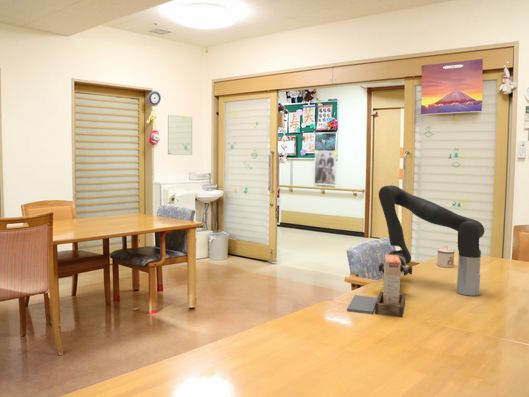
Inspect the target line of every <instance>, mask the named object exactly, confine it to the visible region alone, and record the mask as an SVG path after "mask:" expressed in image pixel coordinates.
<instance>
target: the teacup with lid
mask: <svg viewBox="0 0 529 397" xmlns="http://www.w3.org/2000/svg"><path fill="white" fill-rule="evenodd" d="M436 260H437V261H436V263H437V264H436V266H438V267H439V268H445V269H447V268H449V269H450V268H451V269H452V268H453V267H454V260H455V250H454V249H451V248H450V247H449V246H448V245H444V247H441V248H438V249H437V259H436Z"/></svg>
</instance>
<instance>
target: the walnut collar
mask: <svg viewBox="0 0 529 397" xmlns="http://www.w3.org/2000/svg"><path fill="white" fill-rule="evenodd" d="M377 297H378V298H377V301H376V303H375V309H374V314H375V315H381V316H390V317H398V318H399V317H400V318H403V315H404V311H405V306H406V293H399V305H390V304H383V291H379V294H378V296H377Z"/></svg>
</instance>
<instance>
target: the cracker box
mask: <svg viewBox="0 0 529 397" xmlns="http://www.w3.org/2000/svg"><path fill="white" fill-rule="evenodd" d="M383 264H384V274H383V288H382V289H383V290H382V292H383V302H382V304H390V305H399V306H400V304H399V293H400V290H401V287H400V286H401V275H402V274H401V261H400V259H399V256H398V255H389V254H384V263H383ZM400 294H401V293H400Z"/></svg>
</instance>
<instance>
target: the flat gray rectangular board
mask: <svg viewBox="0 0 529 397" xmlns="http://www.w3.org/2000/svg"><path fill="white" fill-rule="evenodd" d="M377 298H378V296H377V297H376V296H368V295H360V294H354V296H353V298H352V299H351V301H350V302H349V305H348V306H347V308H346V312H352V313H353V312H354V313H361V314H368V315H373V314H374V313H375V303H376V301H377Z"/></svg>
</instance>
